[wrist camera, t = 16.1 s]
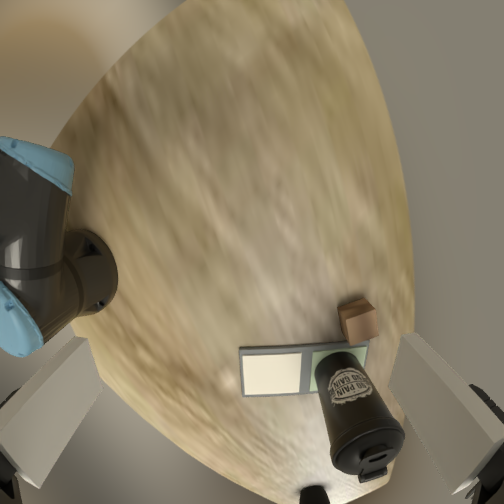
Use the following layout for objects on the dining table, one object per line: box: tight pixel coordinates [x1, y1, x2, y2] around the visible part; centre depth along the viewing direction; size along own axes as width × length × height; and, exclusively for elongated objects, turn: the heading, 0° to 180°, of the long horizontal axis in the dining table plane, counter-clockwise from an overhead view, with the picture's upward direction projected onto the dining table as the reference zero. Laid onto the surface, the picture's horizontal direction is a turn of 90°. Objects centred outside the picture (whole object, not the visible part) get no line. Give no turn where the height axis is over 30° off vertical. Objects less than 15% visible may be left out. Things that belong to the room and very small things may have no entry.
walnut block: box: [337, 298, 379, 346], centre depth 42 cm, size 5×5×5 cm
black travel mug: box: [314, 351, 405, 483], centre depth 34 cm, size 10×10×23 cm
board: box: [239, 340, 370, 397], centre depth 46 cm, size 23×11×1 cm, turn 92°
